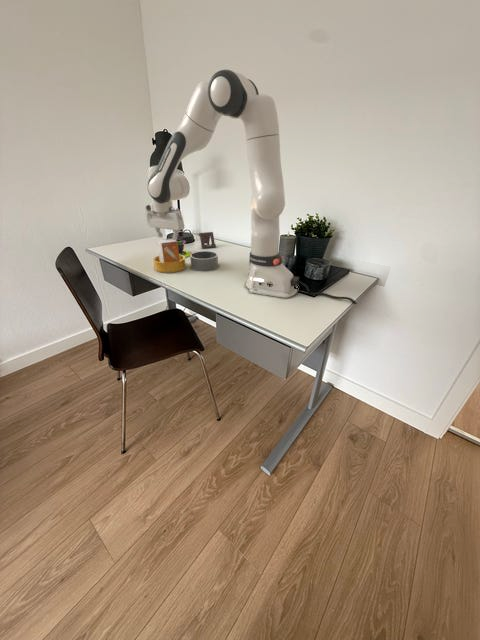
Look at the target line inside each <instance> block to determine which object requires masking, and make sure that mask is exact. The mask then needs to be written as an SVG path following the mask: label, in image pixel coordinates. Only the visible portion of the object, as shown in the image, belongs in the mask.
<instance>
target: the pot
mask: <svg viewBox="0 0 480 640" xmlns="http://www.w3.org/2000/svg"><path fill="white" fill-rule="evenodd" d="M189 259H190V268H191V269H192V270H194V271H197V272H210V271H215V270H216V269H218V268H219V255H218V253H217V252H215V251H211V250H199V251H195V252H192V253H190V256H189Z"/></svg>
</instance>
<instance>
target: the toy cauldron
mask: <svg viewBox="0 0 480 640" xmlns="http://www.w3.org/2000/svg"><path fill="white" fill-rule="evenodd" d="M167 239H170V237H168V238H167ZM176 241H178V250H179V255H183V256H184V257H185V258H187V257H190V255H191V252H190V251H188V250H184V249H185V243H187V241H186V240H183V237H182V236H181V239H180V238H177V240H176Z"/></svg>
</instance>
